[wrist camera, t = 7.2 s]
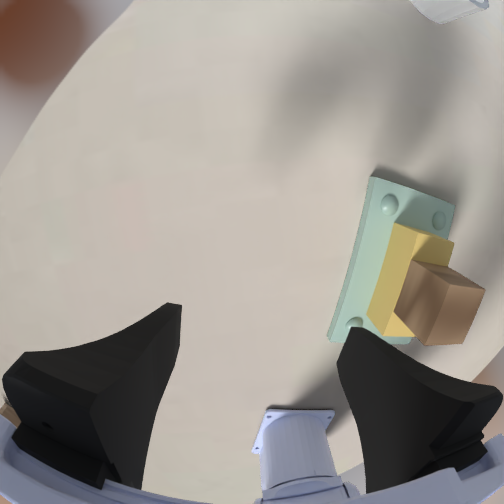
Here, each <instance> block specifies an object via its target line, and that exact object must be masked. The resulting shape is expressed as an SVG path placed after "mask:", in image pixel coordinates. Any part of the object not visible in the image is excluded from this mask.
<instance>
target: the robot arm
mask: <svg viewBox="0 0 504 504" xmlns="http://www.w3.org/2000/svg"><path fill="white" fill-rule="evenodd" d="M181 312H182V305H178V304H173V303H168V302H167V303H166V304H164V305H163V306H161V307H160V308H158V309H157V310H155V311H154V312H152V313H151V314H149V315H148V316H146V317H144V318H143V319H141V320H140V321H138V322H136V323H134V324H133V325H131V326H129V327H127V328H125V329H123V330H121V331H119V332H117V333H115V334H113V335H110V336H108V337H105V338H103V339H100V340H97V341H94V342H90V343H87V344H83V345H80V346H76V347H71V348H65V349H59V350H51V351H35V352H24V353H23V354H22V355H21V356H20V358H19V359H18V360H17V361H16V362H15V363H14V364H13V365H12V366H11V367H10V368H9V369H8V371H7V372H6V373H5V374H4V375H3V378H2V382H3V388H4V391H5V393H6V396H7V398H8V399H9V401H10V403H11V405H12V407H13V409H14V410H15V412H16V414H17V416H18V417H19V419H20V421H21V423H20V425H19V426H18V428H16V426H15V425H14V424H13V423H12V422H10V421H9V420H8V419H6V418H5V417H4V416H2V415H1V414H0V495H2V496H3V497H4V498H6V499H7V500H8V501H10V502H11V503H12V504H211V503H202V502H195V501H189V500H183V499H177V498H172V497H167V496H163V495H158V494H154V493H150V492H146V491H142V490H141V488H142V481H143V474H144V468H145V462H146V457H147V451H148V447H149V442H150V437H151V433H152V428H153V424H154V420H155V416H156V412H157V409H158V406H159V403H160V401H161V398H162V396H163V393H164V391H165V388H166V386H167V383H168V381H169V378H170V376H171V373H172V371H173V368H174V366H175V362H176V358H177V354H178V350H179V346H180V328H181ZM337 368H338V373H339V377H340V381H341V384H342V387H343V389H344V392H345V395H346V397H347V400H348V402H349V405H350V408H351V410H352V413H353V415H354V418H355V421H356V424H357V427H358V432H359V436H360V441H361V446H362V452H363V458H364V465H365V476H366V494H364V495H360V493H359V491H358V489H357V487H356V486H355V485H354V484H352V483H350V482H344V483H342V480H341V476H337V473H336V469H335V466H334V462H333V458H332V455H331V451H330V447H329V444H328V440H327V437H326V433H325V430H326V429H327V427H328V425H329V424H330V422H331V420H332V418H333V417H334V415H335V411H334V410H279V409H268V410H266V411H265V414H264V417H263V420H262V423H261V426H260V428H259V431H258V434H257V437H256V439H255V442H254V445H253V448H252V453H254V454H260V472H261V487H262V493H263V498H258V499H256V500H255V502H254V503H253V504H480V503H481V502H483V501H484V500H486V499H487V498H488V497H489V496H491V495H492V494H493V493H495V492H496V491H497V490H498V489H499V488H501V487H502V486H503V485H504V436H503V435H502V434H498V435H497V436H495V437H493V438H492V439H490V440H488V441H487V442H486V443H485V444H484V445H483V444H482V442H481V439H483V438H484V434H483V433H482V430H483V428H484V427H485V426H486V425H487V424H488V422H489V421H490V420H491V418H492V417H493V416H494V415H495V413H496V412H497V410H498V409H499V407H500V405H501V403H502V400H503V395H502V393H501V392H500V391H499V390H498V389H497V388H496V387H494V386H489V385H483V384H477V383H471V382H468V381H464V380H460V379H457V378H453V377H451V376H448V375H445V374H443V373H440V372H438V371H435V370H433V369H431V368H429V367H427V366H425V365H423V364H421V363H419V362H417V361H416V360H414V359H412V358H411V357H409V356H407V355H406V354H404V353H402V352H401V351H399V350H398V349H396V348H395V347H393V346H392V345H390V344H389V343H387V342H386V341H384V340H383V339H381V338H380V337H378V336H377V335H375V334H374V333H372V332H371V331H369V330H367V329H365V328H363V327H351V328H350V331H349V333H348V336H347V338H346V341H345V343H344V346H343V348H342V351H341V353H340V356H339V358H338V360H337Z"/></svg>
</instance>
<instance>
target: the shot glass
mask: <svg viewBox="0 0 504 504" xmlns="http://www.w3.org/2000/svg"><path fill="white" fill-rule="evenodd" d="M410 1H411V3H412V4H413V5H414V6H415V7H416V8H417V10H418V11H419V12H420V13H421V14H423V15H424V16H426V17H427V18H428V19H429V20H432V21H434V22H436V23H439V24H445V23H448V22H450V21H453V20H456V19H458V18H461V17H464V16H467V15H470V14H473V13H476V12H479V11H482V10H485V9H487V8H488V7H489V1H488V0H410Z"/></svg>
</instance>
